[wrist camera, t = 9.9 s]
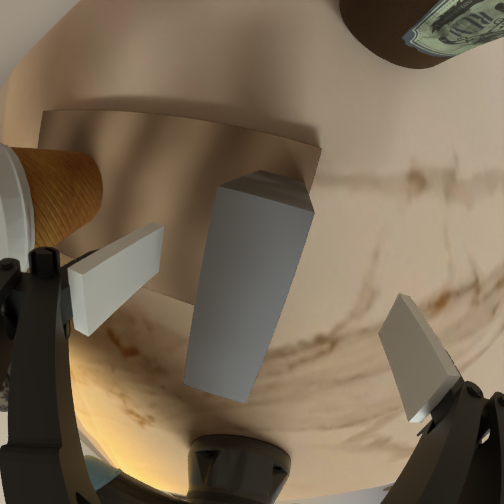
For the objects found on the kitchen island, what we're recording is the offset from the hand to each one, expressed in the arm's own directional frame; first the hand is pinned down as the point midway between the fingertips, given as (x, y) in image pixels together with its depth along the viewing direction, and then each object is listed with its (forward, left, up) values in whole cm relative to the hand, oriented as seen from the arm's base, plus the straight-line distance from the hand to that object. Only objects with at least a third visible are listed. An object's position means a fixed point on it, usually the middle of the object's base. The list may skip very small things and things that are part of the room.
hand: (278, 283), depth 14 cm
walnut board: (+12, 0, -7) cm, 14 cm away
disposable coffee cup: (+18, 0, -7) cm, 20 cm away
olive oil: (-4, -20, -7) cm, 22 cm away
